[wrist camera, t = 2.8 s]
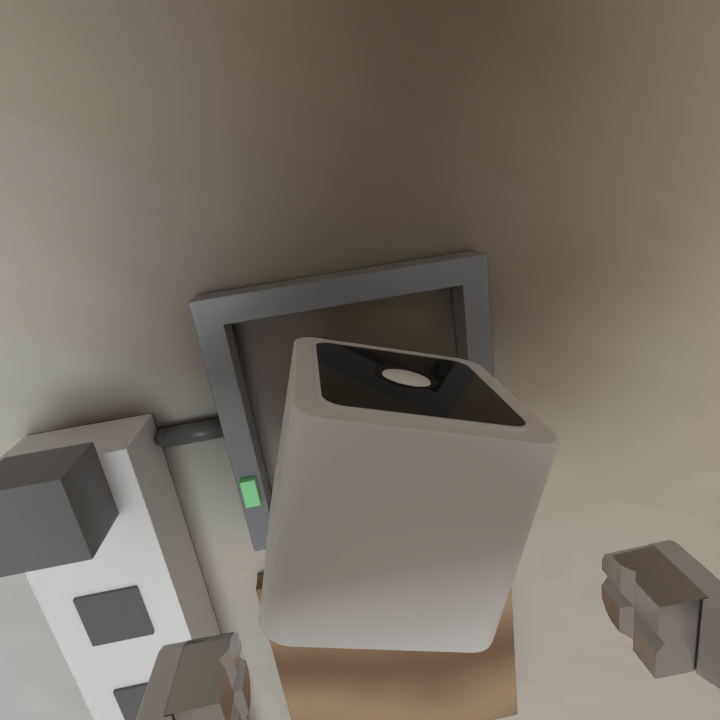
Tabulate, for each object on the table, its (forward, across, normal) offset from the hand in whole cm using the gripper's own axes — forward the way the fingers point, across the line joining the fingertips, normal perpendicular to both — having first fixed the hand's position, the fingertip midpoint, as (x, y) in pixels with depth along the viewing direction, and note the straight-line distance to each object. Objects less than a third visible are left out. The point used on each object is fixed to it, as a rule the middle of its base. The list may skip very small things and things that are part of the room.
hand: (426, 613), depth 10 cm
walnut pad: (+11, 0, +13) cm, 17 cm away
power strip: (+11, +9, +9) cm, 17 cm away
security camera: (+11, 0, -1) cm, 11 cm away
